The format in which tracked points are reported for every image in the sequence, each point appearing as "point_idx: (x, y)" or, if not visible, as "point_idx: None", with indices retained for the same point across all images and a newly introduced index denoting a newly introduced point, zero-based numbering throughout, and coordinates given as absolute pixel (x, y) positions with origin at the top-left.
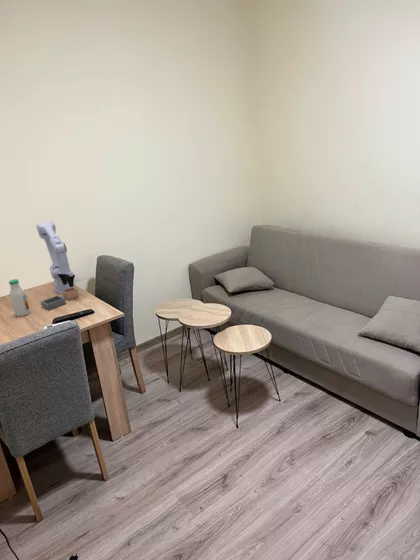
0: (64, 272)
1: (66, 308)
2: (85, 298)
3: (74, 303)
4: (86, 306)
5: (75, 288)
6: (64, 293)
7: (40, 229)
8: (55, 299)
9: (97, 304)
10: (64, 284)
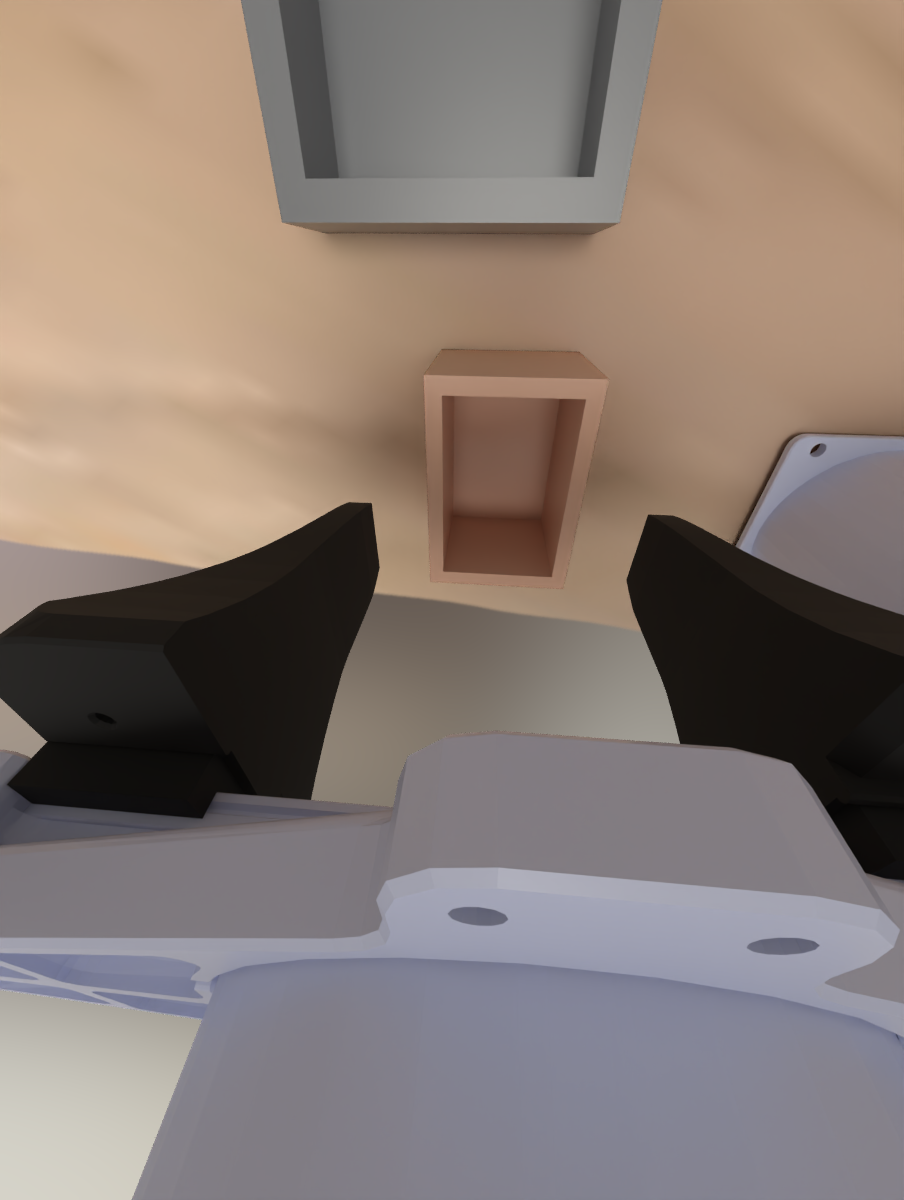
0: (200, 973)
1: (83, 90)
2: None
3: (240, 346)
4: (12, 390)
5: (467, 579)
6: (514, 370)
7: None
8: (594, 104)
9: (21, 500)
10: (647, 526)
